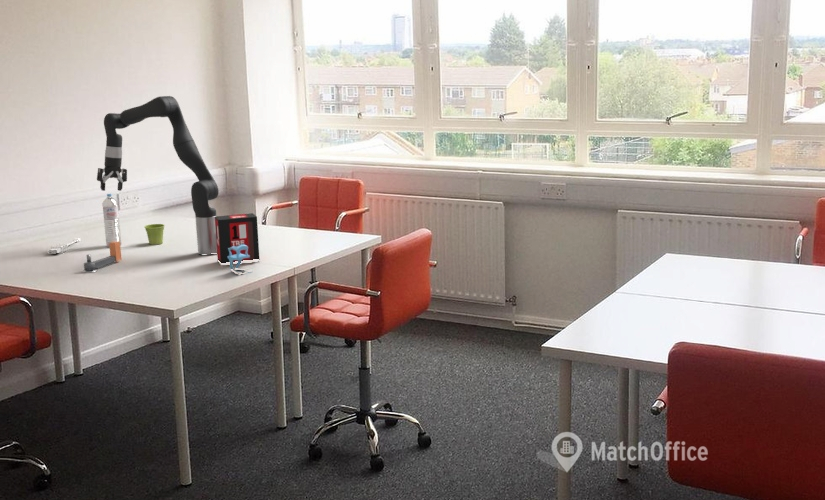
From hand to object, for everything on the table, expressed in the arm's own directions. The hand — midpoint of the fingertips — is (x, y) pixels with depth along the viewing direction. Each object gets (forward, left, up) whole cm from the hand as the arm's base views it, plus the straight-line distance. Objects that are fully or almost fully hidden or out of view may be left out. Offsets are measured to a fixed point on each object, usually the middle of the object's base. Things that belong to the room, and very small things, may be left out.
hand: (111, 190), depth 423 cm
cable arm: (-6, +45, -25) cm, 52 cm away
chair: (-67, +62, -26) cm, 95 cm away
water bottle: (0, +4, -26) cm, 27 cm away
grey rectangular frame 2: (-7, +40, -26) cm, 48 cm away
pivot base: (-3, +52, -26) cm, 58 cm away
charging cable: (+22, +5, -27) cm, 35 cm away
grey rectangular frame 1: (-5, +45, -26) cm, 52 cm away
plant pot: (-19, +1, -26) cm, 32 cm away
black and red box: (-64, +43, -26) cm, 81 cm away
